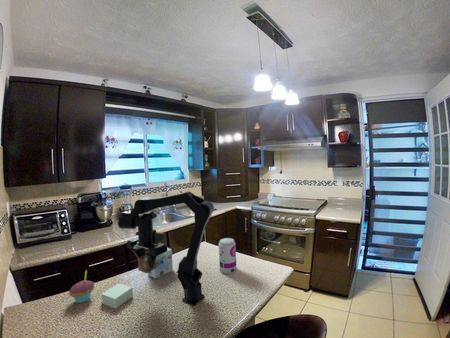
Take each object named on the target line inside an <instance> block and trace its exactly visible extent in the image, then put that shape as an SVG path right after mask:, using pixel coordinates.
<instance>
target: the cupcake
mask: <svg viewBox="0 0 450 338" xmlns="http://www.w3.org/2000/svg"><path fill="white" fill-rule="evenodd" d="M87 274H88V269H87V268H86V270H85V271H84V280H81V281H79V282H77V283H74V285H72V286H71V288H70V289H69V292H68V293H69V294H68V295H69V296H70V297H72V298H73V299H74V300H75V303H76V304H81V303H85V302H87V301H89V300H90V298H91V293H92V291H93V290H94V289H95V283H94V281H92V280H87Z"/></svg>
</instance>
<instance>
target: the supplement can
mask: <svg viewBox="0 0 450 338" xmlns="http://www.w3.org/2000/svg"><path fill="white" fill-rule="evenodd" d="M236 245H237V244H236V241H235V239H234V238H231V237H224V238H221V239H220V240H219V241H218V257H219V258H218V259H219V271H220V272H221V273H222V274H224V275H230V274H231V275H232V274H234V273H235V272H236V271H237V268H238V267H237V250H236V249H237V248H236V247H237V246H236Z"/></svg>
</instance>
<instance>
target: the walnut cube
mask: <svg viewBox="0 0 450 338" xmlns="http://www.w3.org/2000/svg"><path fill="white" fill-rule="evenodd" d="M137 268H138V269H137V271H139V272H142V273H144V274H148V272H150V271H152V270H154V269H155V268H157V265H156V260H155V263H154V266H153V268H150V266H149V263H148V260H147V258H146V254H145V255H144V256H141V257H139V258H137Z"/></svg>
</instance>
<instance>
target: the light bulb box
mask: <svg viewBox="0 0 450 338" xmlns="http://www.w3.org/2000/svg"><path fill="white" fill-rule="evenodd" d="M156 265H157V268H155V269H154V270H152V271H150V272H148V273H147V276H149V277H150V278H152V277H153V279H154V278H155V279H154V280H156V278H157V279H159V278H160V277H162V276H164V275H166V274H168V273H170V272H172V271H174V267H173V249H172V248H169V247H167V251H166V252H164V253H162V254H160V255H158V256H157V257H156Z"/></svg>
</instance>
